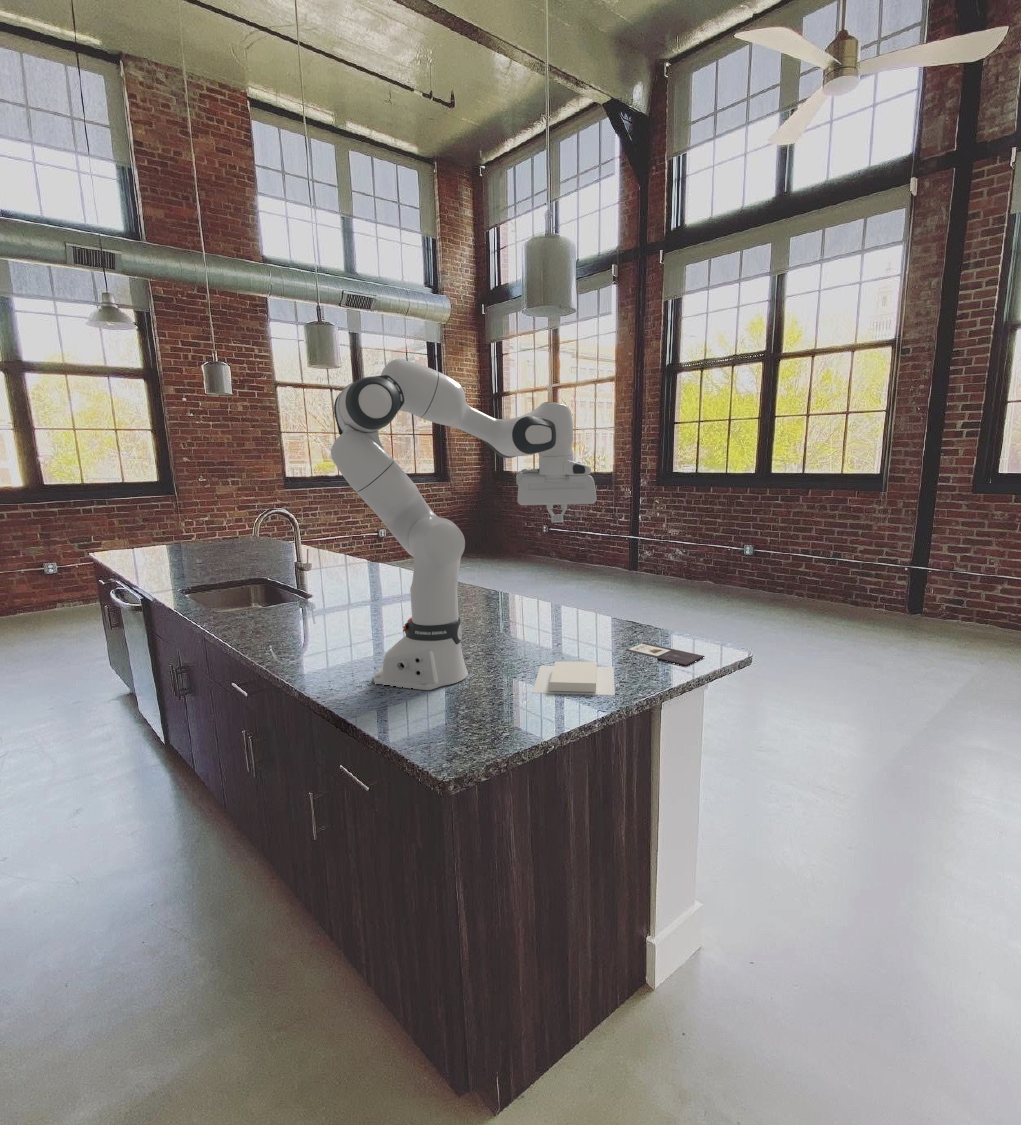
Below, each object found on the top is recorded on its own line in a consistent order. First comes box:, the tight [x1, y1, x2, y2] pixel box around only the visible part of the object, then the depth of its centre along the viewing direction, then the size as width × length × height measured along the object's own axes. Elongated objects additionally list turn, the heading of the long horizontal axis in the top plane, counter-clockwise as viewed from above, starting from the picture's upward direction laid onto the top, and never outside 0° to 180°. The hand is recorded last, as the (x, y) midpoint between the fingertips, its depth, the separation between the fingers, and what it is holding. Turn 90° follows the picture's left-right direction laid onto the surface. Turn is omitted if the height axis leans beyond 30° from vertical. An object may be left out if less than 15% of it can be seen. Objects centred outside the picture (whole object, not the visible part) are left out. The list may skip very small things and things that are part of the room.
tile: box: [550, 661, 598, 692], centre depth 137 cm, size 10×2×14 cm
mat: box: [531, 665, 616, 696], centre depth 139 cm, size 18×18×1 cm
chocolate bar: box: [625, 642, 705, 667], centre depth 156 cm, size 9×1×18 cm
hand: (557, 522), depth 155 cm, fingers closed
